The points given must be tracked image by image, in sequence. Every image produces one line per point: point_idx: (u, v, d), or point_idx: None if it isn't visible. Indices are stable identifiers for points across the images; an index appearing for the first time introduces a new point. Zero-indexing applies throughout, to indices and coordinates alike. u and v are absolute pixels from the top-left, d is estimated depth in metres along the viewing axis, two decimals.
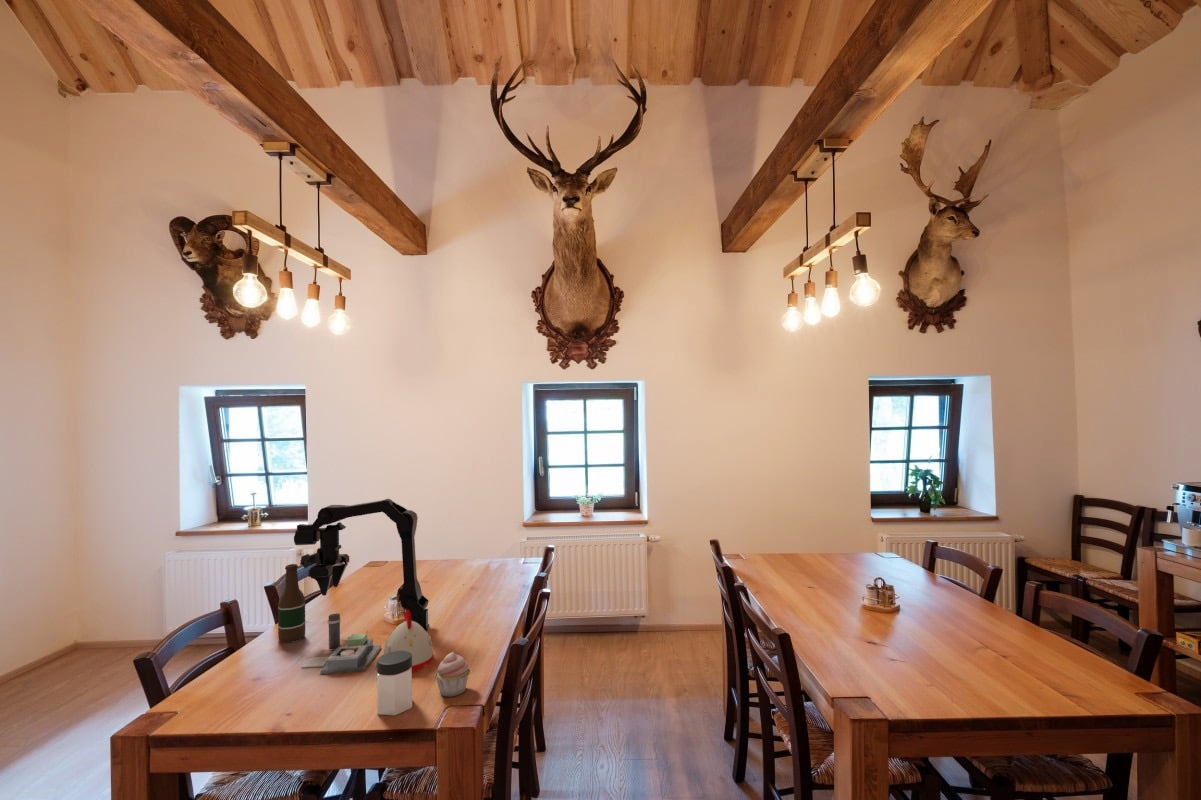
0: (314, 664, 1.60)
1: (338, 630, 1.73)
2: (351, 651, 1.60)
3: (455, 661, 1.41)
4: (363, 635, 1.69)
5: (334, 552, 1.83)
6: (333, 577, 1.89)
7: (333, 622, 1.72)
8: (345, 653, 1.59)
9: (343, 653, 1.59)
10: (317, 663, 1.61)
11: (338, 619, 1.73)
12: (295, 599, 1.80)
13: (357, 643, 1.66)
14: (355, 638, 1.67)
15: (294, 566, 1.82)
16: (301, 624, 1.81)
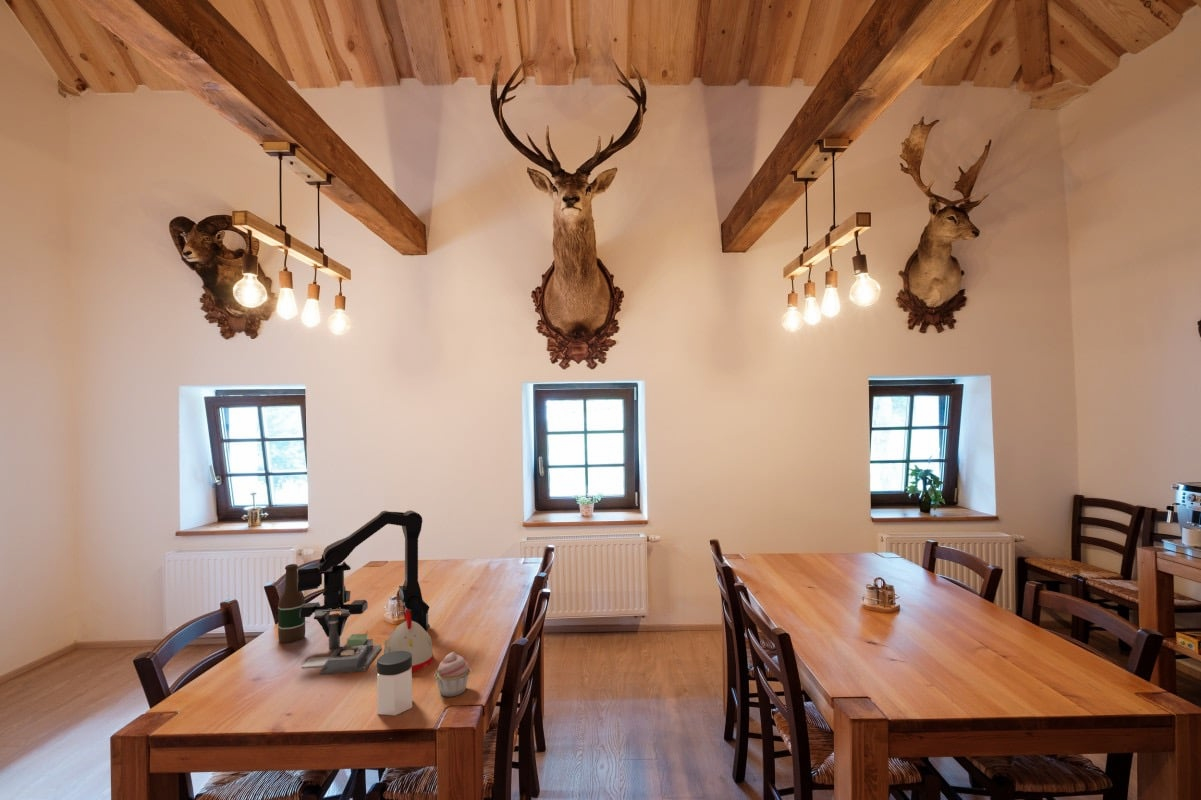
0: (314, 664, 1.60)
1: None
2: (351, 651, 1.60)
3: (455, 661, 1.41)
4: (363, 635, 1.69)
5: (325, 596, 1.72)
6: None
7: (333, 622, 1.72)
8: (345, 653, 1.59)
9: (343, 653, 1.59)
10: (317, 663, 1.61)
11: None
12: (295, 599, 1.80)
13: (357, 643, 1.66)
14: (355, 638, 1.67)
15: (294, 566, 1.82)
16: (301, 624, 1.81)
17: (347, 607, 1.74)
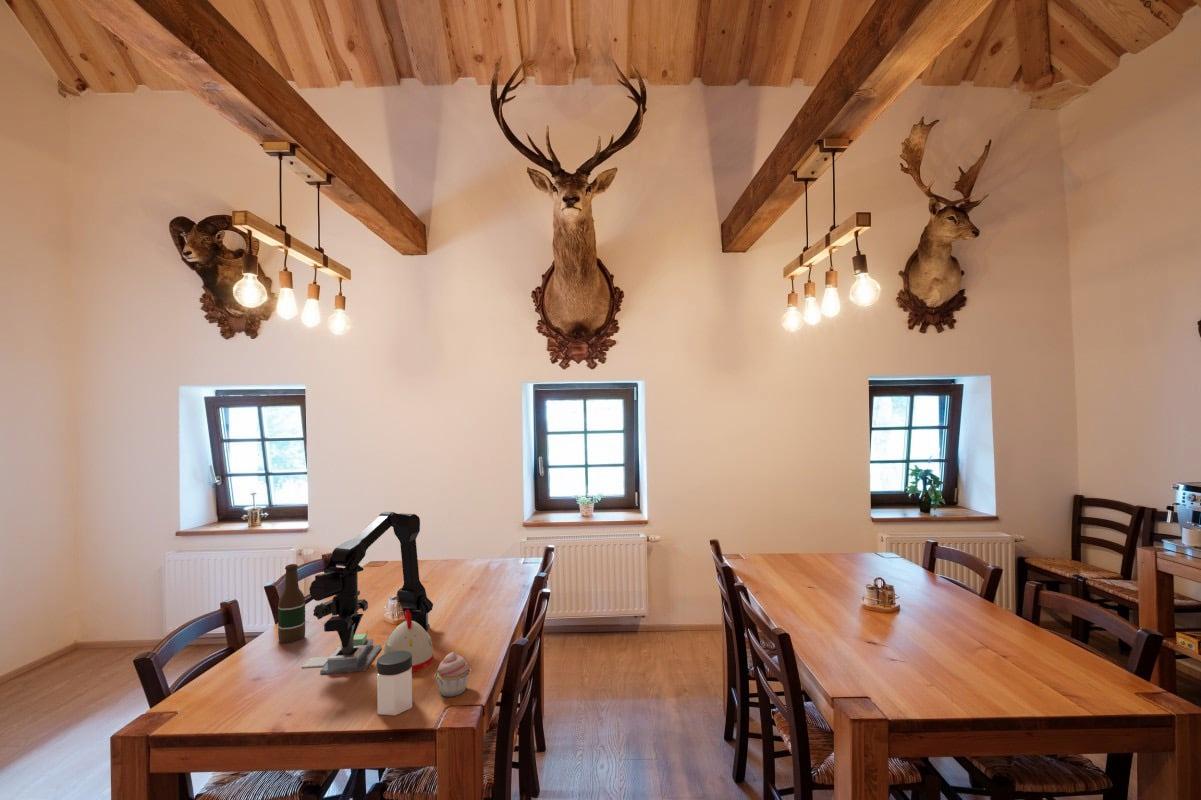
0: (314, 664, 1.60)
1: None
2: None
3: (455, 661, 1.41)
4: (363, 635, 1.69)
5: (353, 600, 1.59)
6: None
7: None
8: None
9: None
10: (317, 663, 1.61)
11: None
12: (295, 599, 1.80)
13: (357, 643, 1.66)
14: (355, 638, 1.67)
15: (294, 566, 1.82)
16: (301, 624, 1.81)
17: None
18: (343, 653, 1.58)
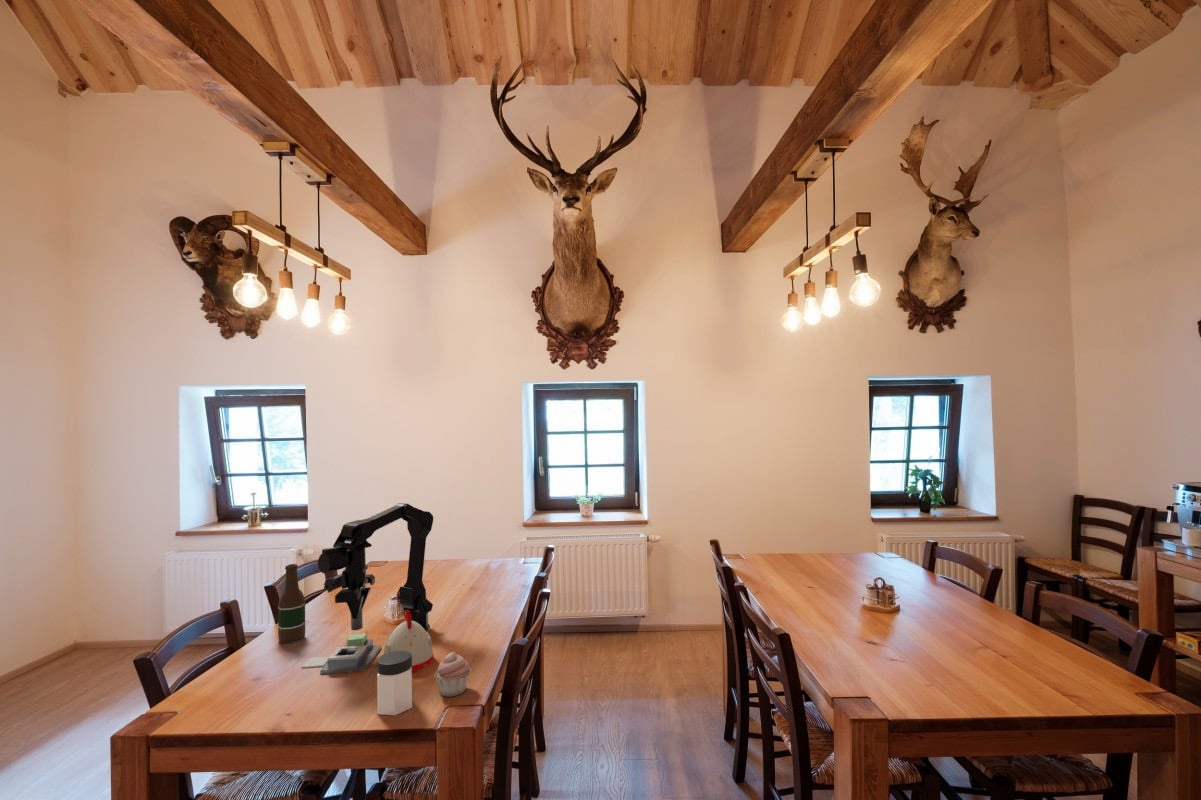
0: (314, 664, 1.60)
1: None
2: None
3: (455, 661, 1.41)
4: (363, 635, 1.69)
5: (361, 574, 1.66)
6: None
7: None
8: None
9: None
10: (317, 663, 1.61)
11: None
12: (295, 599, 1.80)
13: (357, 643, 1.66)
14: (355, 638, 1.67)
15: (294, 566, 1.82)
16: (301, 624, 1.81)
17: None
18: (353, 624, 1.66)
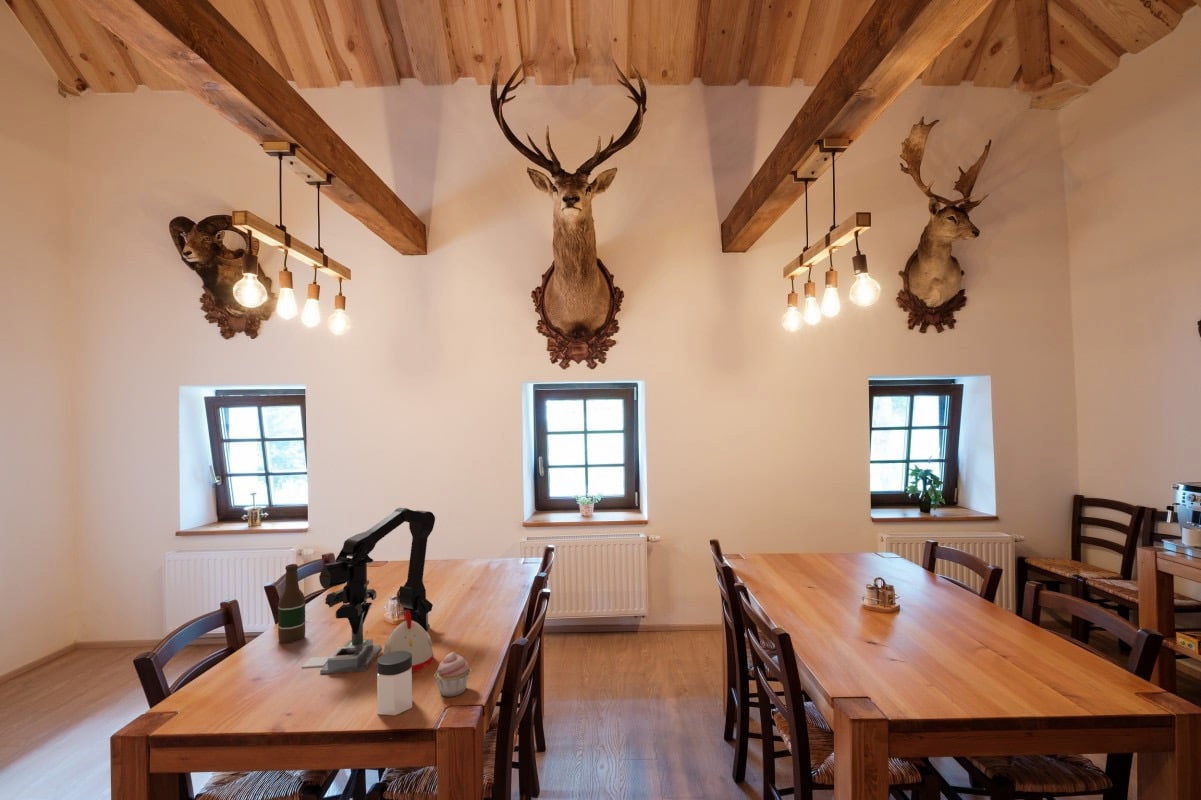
0: (314, 664, 1.60)
1: None
2: None
3: (455, 661, 1.41)
4: (363, 642, 1.69)
5: (362, 589, 1.67)
6: None
7: None
8: None
9: None
10: (317, 663, 1.61)
11: None
12: (295, 599, 1.80)
13: None
14: None
15: (294, 566, 1.82)
16: (301, 624, 1.81)
17: None
18: (353, 639, 1.67)
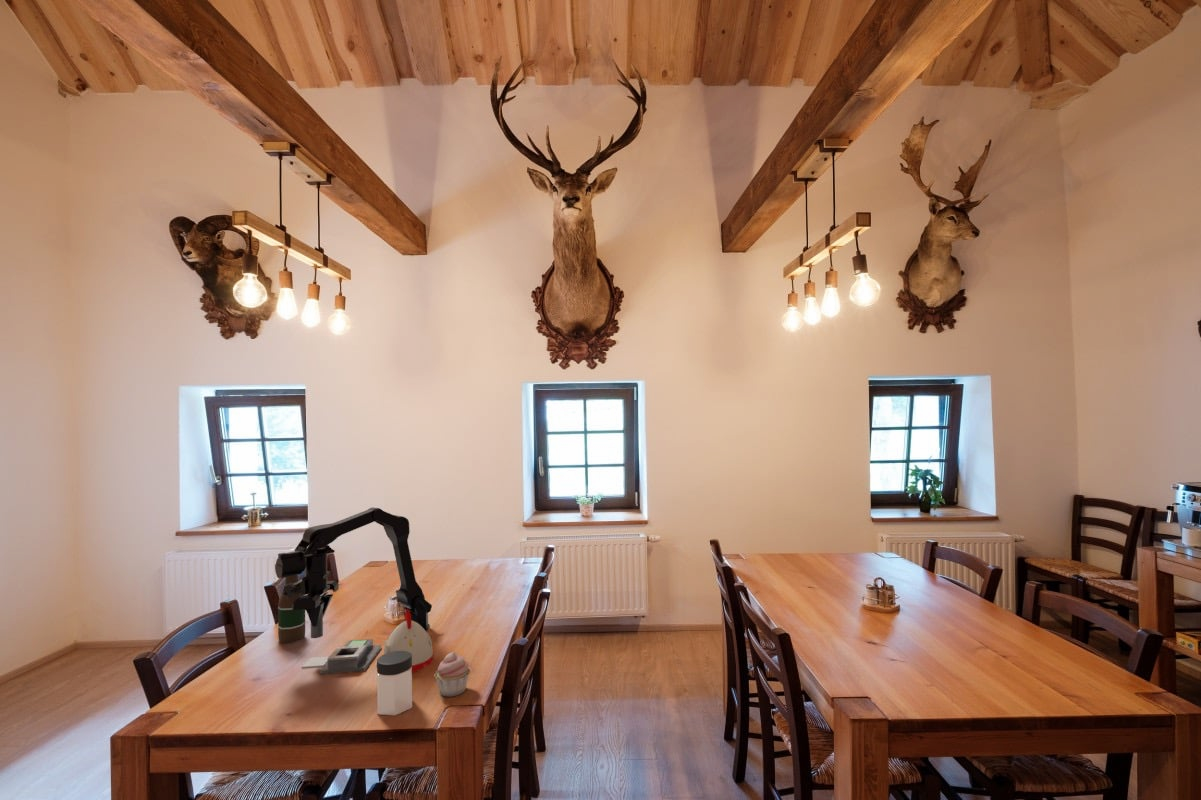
0: (314, 664, 1.60)
1: None
2: None
3: (455, 661, 1.41)
4: (363, 642, 1.69)
5: (322, 580, 1.62)
6: None
7: None
8: None
9: None
10: (317, 663, 1.61)
11: None
12: None
13: None
14: (355, 645, 1.67)
15: None
16: (301, 624, 1.81)
17: None
18: (312, 632, 1.61)
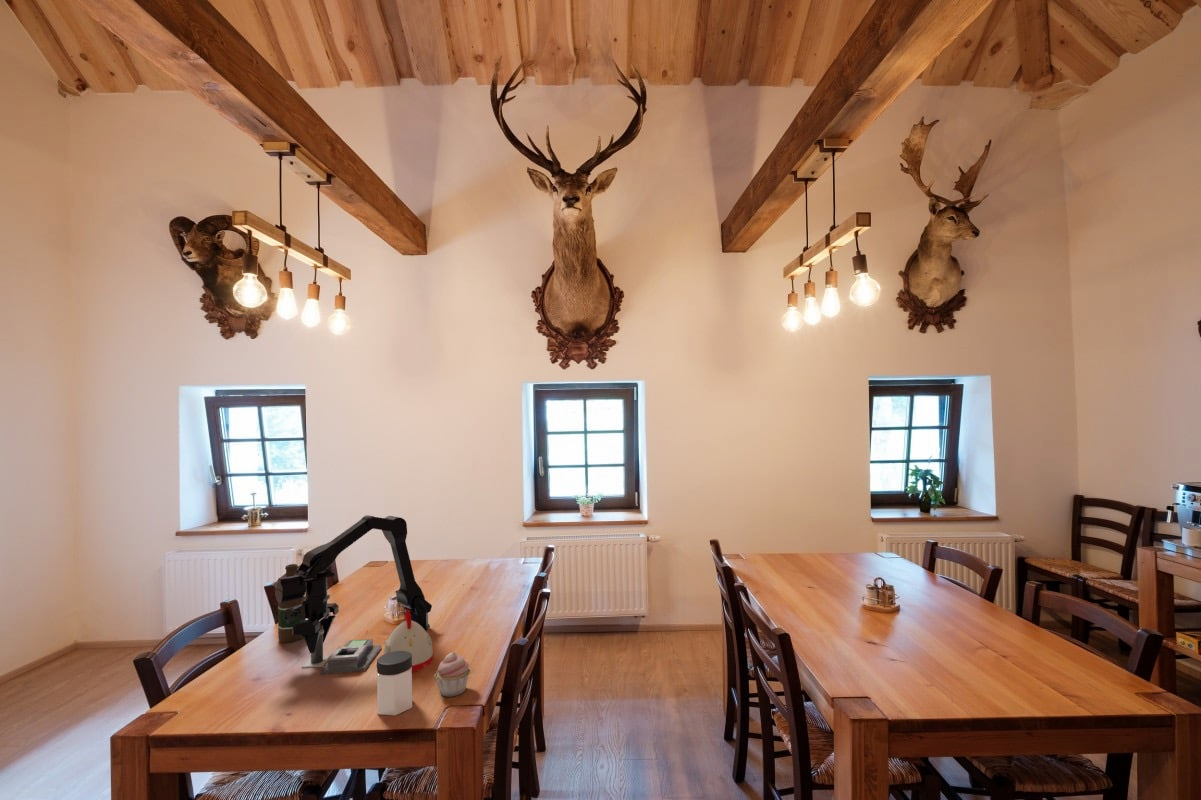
0: (314, 664, 1.60)
1: None
2: None
3: (455, 661, 1.41)
4: (363, 642, 1.69)
5: (322, 604, 1.62)
6: None
7: (323, 631, 1.63)
8: None
9: None
10: (317, 663, 1.61)
11: None
12: None
13: None
14: (355, 645, 1.67)
15: (294, 566, 1.82)
16: None
17: None
18: (312, 657, 1.61)
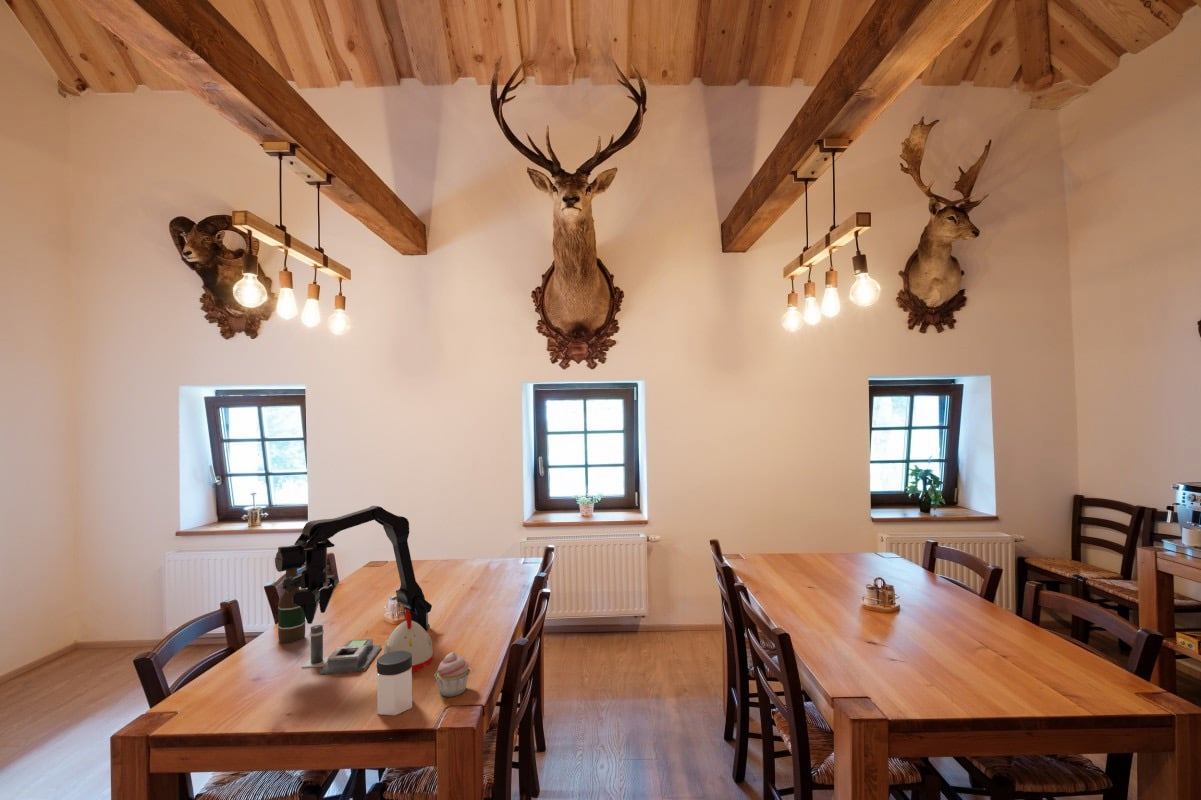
0: (314, 664, 1.60)
1: None
2: None
3: (455, 661, 1.41)
4: (363, 642, 1.69)
5: (321, 574, 1.62)
6: (319, 602, 1.67)
7: (323, 631, 1.63)
8: None
9: None
10: (317, 663, 1.61)
11: None
12: None
13: None
14: (355, 645, 1.67)
15: None
16: (301, 624, 1.81)
17: None
18: (312, 657, 1.61)
